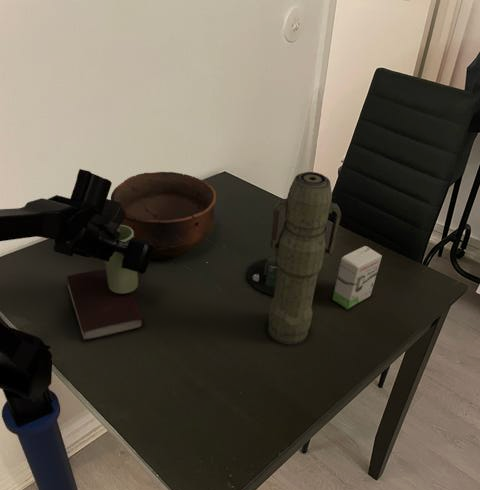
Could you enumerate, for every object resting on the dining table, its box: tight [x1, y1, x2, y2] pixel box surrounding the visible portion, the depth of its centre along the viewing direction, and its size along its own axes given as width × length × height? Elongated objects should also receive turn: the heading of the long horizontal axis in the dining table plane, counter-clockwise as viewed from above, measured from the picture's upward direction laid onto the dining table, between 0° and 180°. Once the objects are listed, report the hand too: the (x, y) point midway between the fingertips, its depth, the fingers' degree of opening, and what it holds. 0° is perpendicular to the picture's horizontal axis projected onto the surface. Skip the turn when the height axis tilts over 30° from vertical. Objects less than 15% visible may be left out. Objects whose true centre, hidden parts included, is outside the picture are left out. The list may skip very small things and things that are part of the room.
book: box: [66, 268, 144, 342], centre depth 110 cm, size 12×19×3 cm, turn 23°
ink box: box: [332, 245, 383, 310], centre depth 114 cm, size 9×5×12 cm, turn 130°
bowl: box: [110, 171, 218, 260], centre depth 124 cm, size 25×25×15 cm
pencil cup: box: [104, 225, 139, 294], centre depth 106 cm, size 6×6×13 cm
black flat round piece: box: [247, 253, 278, 297], centre depth 121 cm, size 15×15×6 cm
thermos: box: [267, 171, 342, 345], centre depth 97 cm, size 9×12×35 cm
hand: (123, 256), depth 107 cm, fingers closed on pencil cup, 6 cm apart
